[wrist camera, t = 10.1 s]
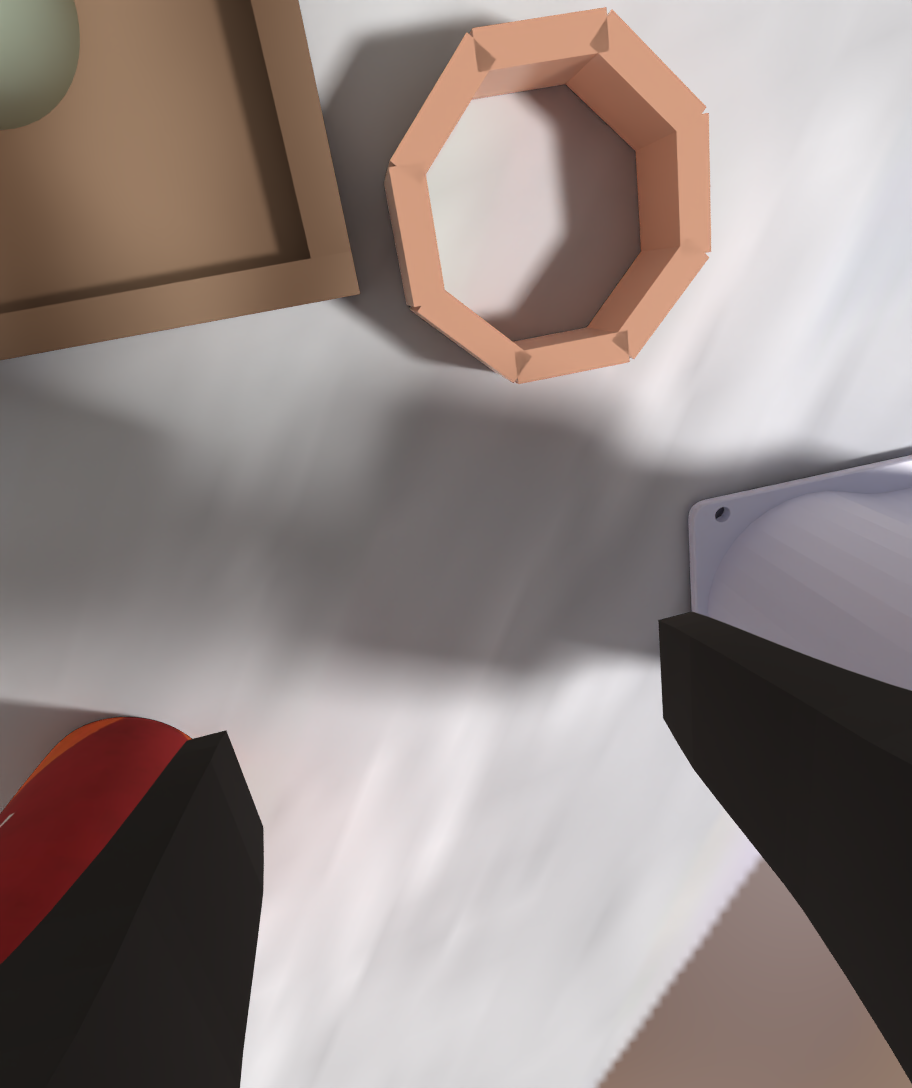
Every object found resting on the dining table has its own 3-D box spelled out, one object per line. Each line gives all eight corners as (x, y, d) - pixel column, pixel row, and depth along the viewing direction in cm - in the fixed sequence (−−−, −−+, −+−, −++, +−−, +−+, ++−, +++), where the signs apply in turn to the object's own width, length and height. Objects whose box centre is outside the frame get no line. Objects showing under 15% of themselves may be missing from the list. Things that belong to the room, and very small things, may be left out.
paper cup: (-37, 721, 21) (-689, 1447, 8) (207, 663, 21) (-19, 1251, 8) (65, 896, 24) (-281, 1631, 11) (277, 841, 24) (191, 1479, 11)
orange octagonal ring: (659, 31, 17) (706, -8, 14) (671, 339, 20) (712, 345, 17) (364, 78, 16) (366, 44, 14) (422, 388, 19) (431, 401, 17)
